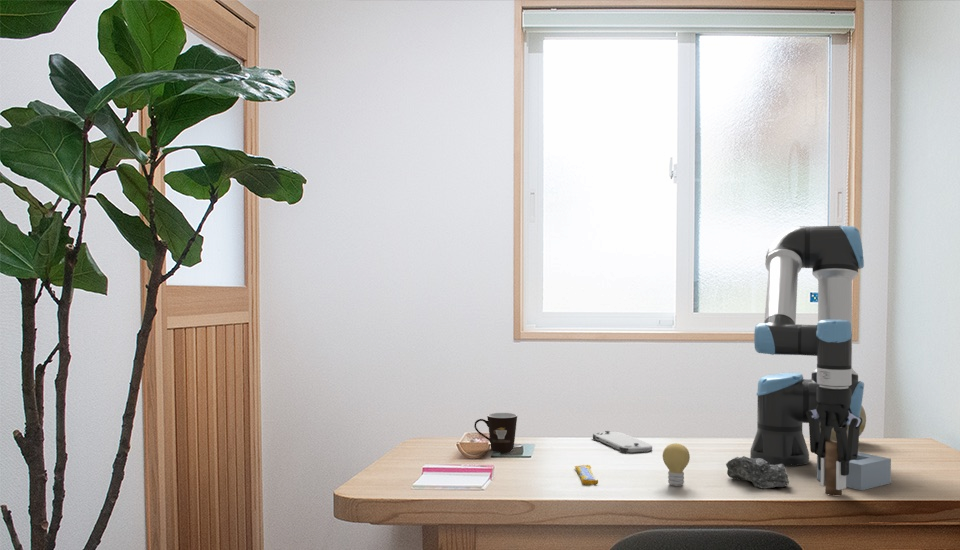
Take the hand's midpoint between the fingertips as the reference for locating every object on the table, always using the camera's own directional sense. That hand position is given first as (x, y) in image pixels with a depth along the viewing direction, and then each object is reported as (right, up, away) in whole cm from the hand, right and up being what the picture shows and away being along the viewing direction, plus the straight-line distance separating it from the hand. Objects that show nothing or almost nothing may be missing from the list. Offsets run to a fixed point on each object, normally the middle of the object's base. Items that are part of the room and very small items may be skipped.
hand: (833, 486), depth 206 cm
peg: (0, -2, 0) cm, 2 cm away
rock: (-14, -2, +10) cm, 17 cm away
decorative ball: (+24, -1, +56) cm, 61 cm away
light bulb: (-35, -2, +8) cm, 36 cm away
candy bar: (-55, -2, +16) cm, 58 cm away
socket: (+9, -1, +11) cm, 15 cm away
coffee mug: (-77, -1, +48) cm, 91 cm away
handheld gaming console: (-40, -1, +55) cm, 68 cm away
